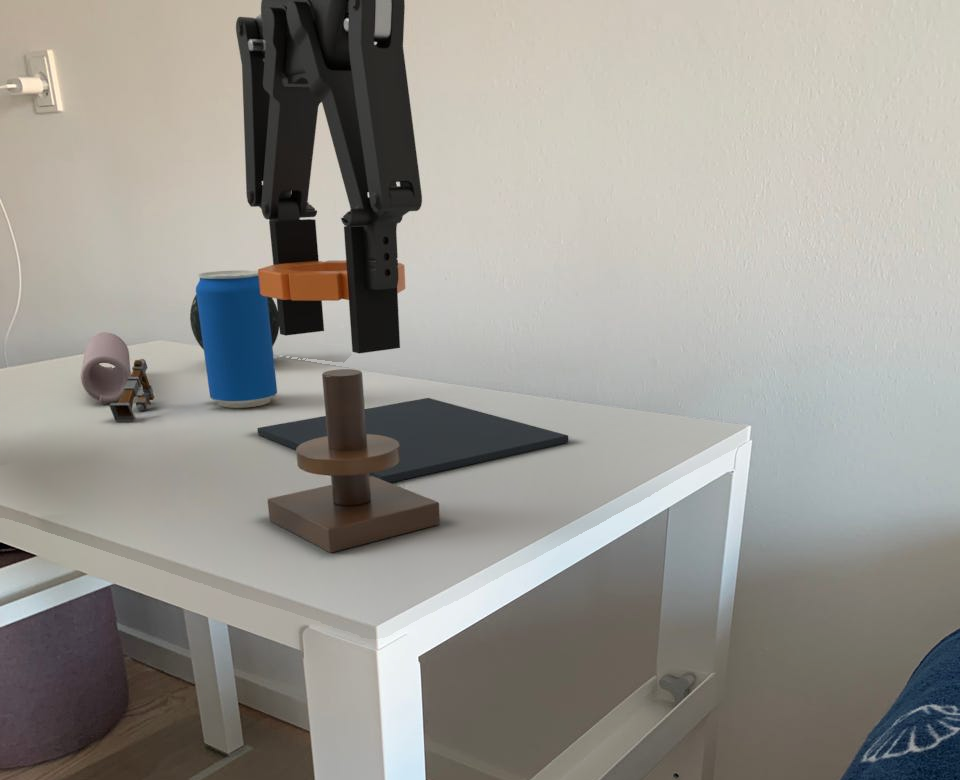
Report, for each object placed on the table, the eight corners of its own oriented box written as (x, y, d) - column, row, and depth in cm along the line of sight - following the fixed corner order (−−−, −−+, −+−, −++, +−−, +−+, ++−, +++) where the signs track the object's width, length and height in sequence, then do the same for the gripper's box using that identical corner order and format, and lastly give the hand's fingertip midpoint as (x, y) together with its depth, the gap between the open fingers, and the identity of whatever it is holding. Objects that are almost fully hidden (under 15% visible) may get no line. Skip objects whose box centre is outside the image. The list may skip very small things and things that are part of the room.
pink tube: (79, 335, 112) (74, 361, 96) (122, 328, 113) (123, 352, 97) (92, 377, 114) (88, 408, 98) (134, 369, 115) (136, 399, 100)
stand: (269, 520, 65) (251, 372, 61) (373, 496, 69) (363, 356, 65) (330, 553, 59) (316, 391, 55) (440, 524, 64) (434, 372, 60)
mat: (257, 434, 86) (256, 427, 86) (428, 403, 96) (428, 397, 96) (382, 484, 72) (381, 476, 72) (568, 442, 82) (568, 435, 82)
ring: (240, 292, 59) (237, 267, 59) (357, 281, 64) (355, 258, 63) (306, 304, 53) (303, 276, 53) (429, 292, 58) (428, 266, 57)
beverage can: (288, 403, 98) (275, 273, 93) (225, 412, 95) (208, 278, 89) (262, 392, 103) (248, 268, 97) (201, 401, 99) (183, 273, 94)
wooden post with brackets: (162, 391, 99) (149, 352, 96) (142, 442, 94) (127, 403, 91) (144, 392, 99) (131, 352, 96) (123, 443, 94) (108, 403, 91)
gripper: (491, -170, 44) (495, 355, 54) (274, -83, 59) (308, 317, 69) (344, -202, 40) (377, 373, 50) (151, -99, 55) (206, 328, 65)
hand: (337, 340), depth 60 cm, fingers closed on ring, 8 cm apart
